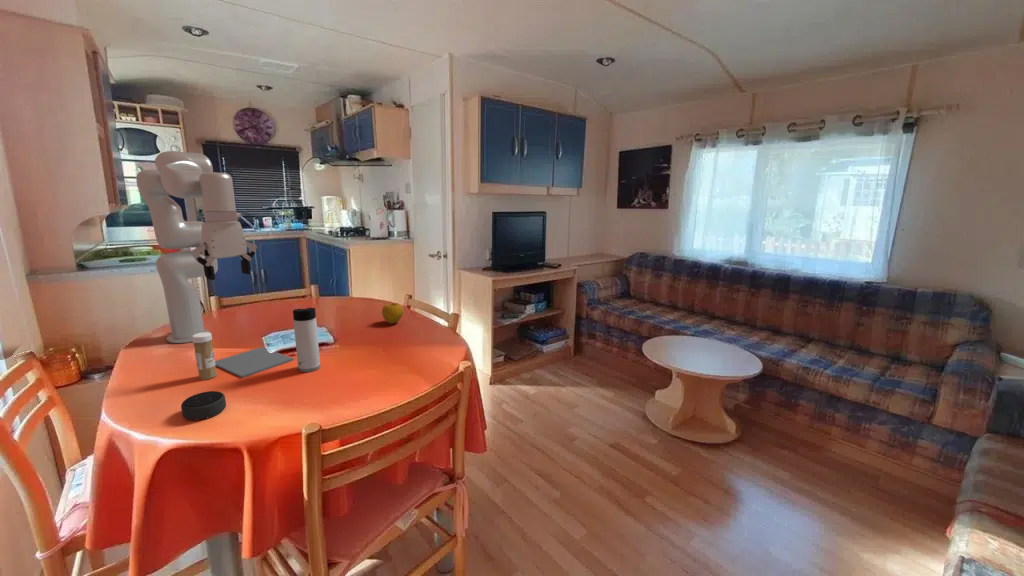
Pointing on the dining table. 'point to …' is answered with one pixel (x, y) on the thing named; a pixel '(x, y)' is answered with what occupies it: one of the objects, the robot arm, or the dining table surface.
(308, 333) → the travel mug
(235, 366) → the rubber mat
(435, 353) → the dining table surface
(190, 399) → the smart speaker
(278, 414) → the dining table surface
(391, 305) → the apple
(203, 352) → the sprinkles bottle
